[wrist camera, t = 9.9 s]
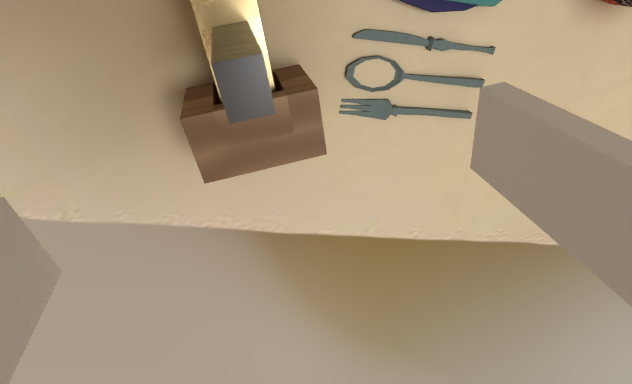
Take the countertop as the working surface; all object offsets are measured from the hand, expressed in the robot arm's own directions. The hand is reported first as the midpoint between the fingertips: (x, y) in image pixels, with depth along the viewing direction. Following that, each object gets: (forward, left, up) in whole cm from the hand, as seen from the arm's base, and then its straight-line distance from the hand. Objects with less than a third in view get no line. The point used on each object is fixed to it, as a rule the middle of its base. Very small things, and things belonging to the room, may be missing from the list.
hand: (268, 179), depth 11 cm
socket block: (+6, 0, -24) cm, 24 cm away
